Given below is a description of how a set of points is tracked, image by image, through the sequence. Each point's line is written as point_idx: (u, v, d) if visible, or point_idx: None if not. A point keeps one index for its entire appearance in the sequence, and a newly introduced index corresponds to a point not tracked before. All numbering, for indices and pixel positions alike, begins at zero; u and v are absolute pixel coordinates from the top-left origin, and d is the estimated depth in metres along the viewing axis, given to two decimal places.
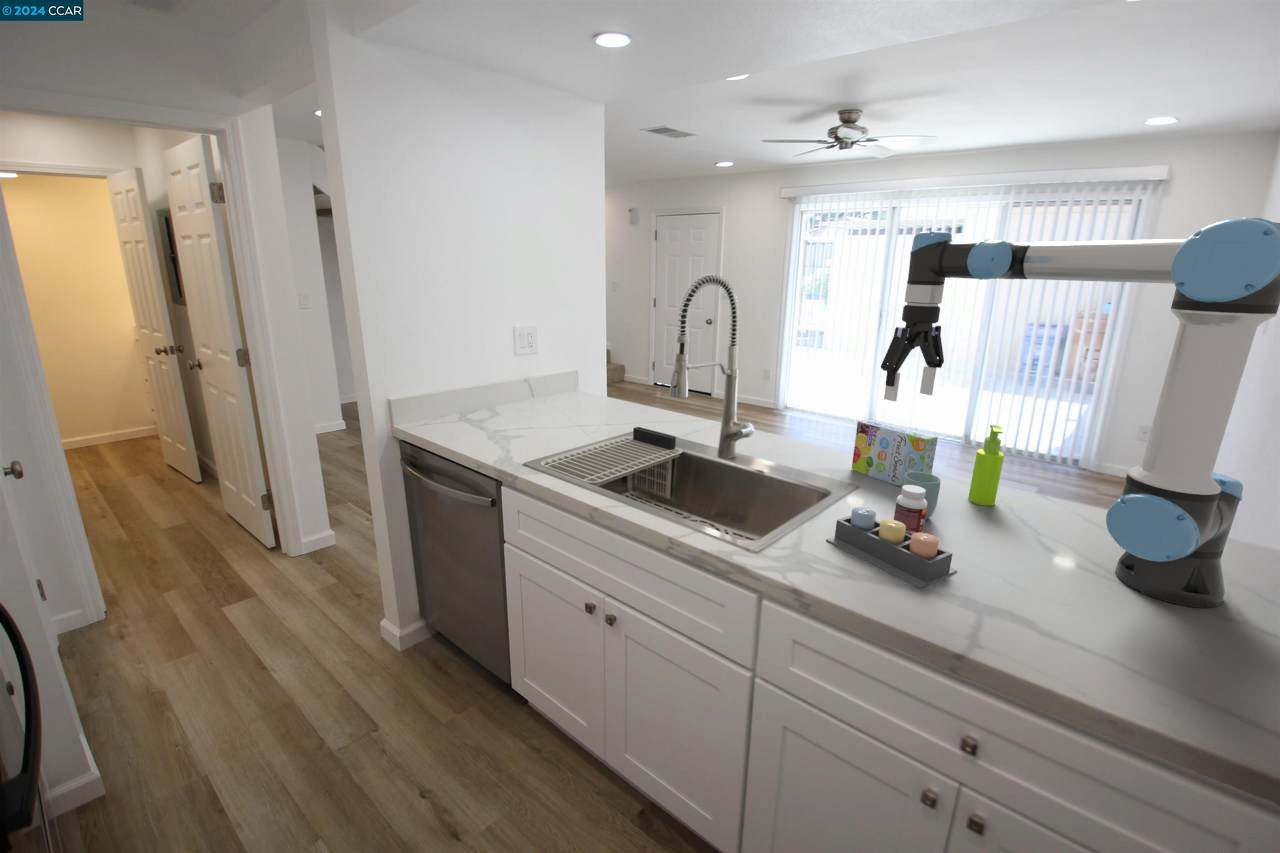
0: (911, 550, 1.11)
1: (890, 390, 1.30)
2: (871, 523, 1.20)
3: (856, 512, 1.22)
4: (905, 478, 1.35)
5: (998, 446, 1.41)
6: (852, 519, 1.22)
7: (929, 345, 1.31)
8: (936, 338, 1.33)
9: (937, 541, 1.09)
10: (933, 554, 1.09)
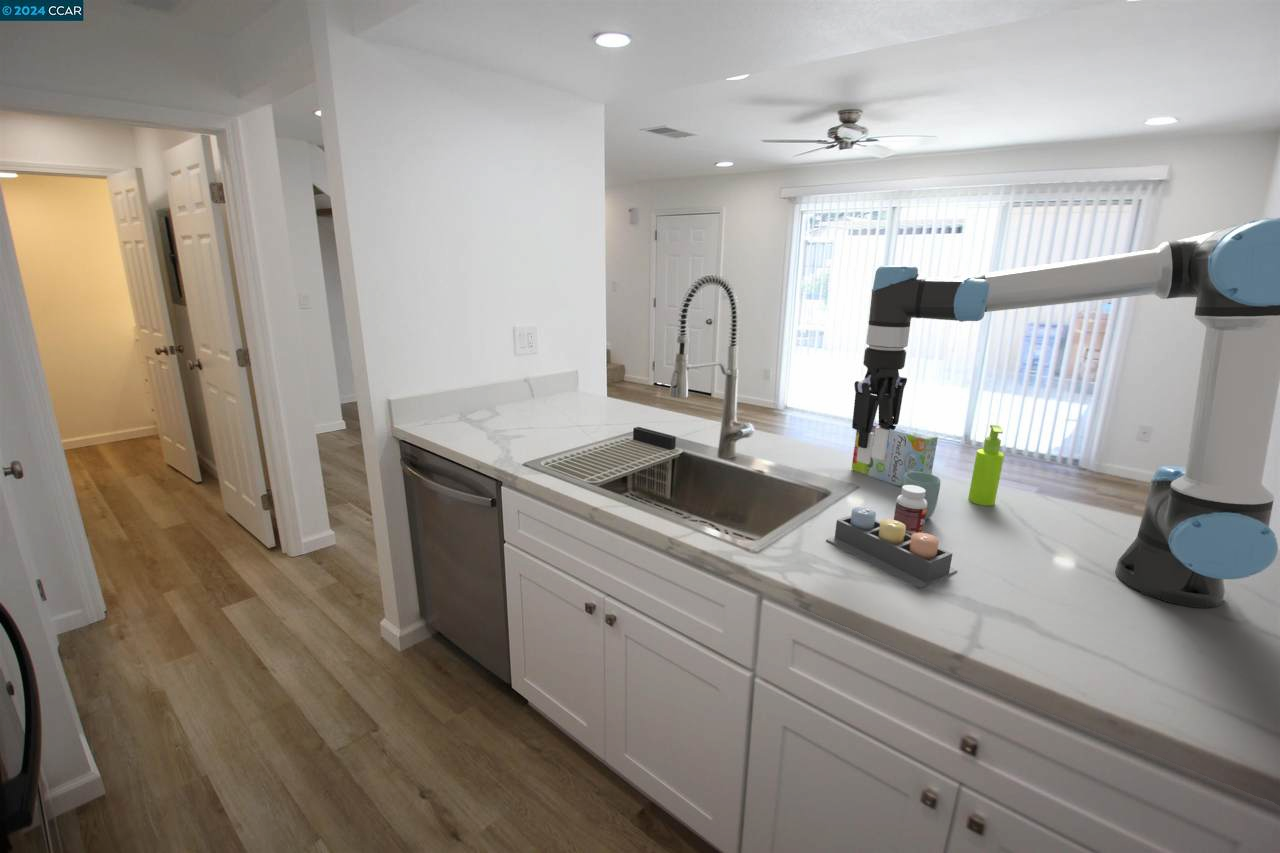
0: (911, 550, 1.11)
1: (863, 452, 1.17)
2: (871, 523, 1.20)
3: (856, 512, 1.22)
4: (905, 478, 1.35)
5: (998, 446, 1.41)
6: (852, 519, 1.22)
7: (890, 395, 1.15)
8: (898, 390, 1.17)
9: (937, 541, 1.09)
10: (933, 554, 1.09)
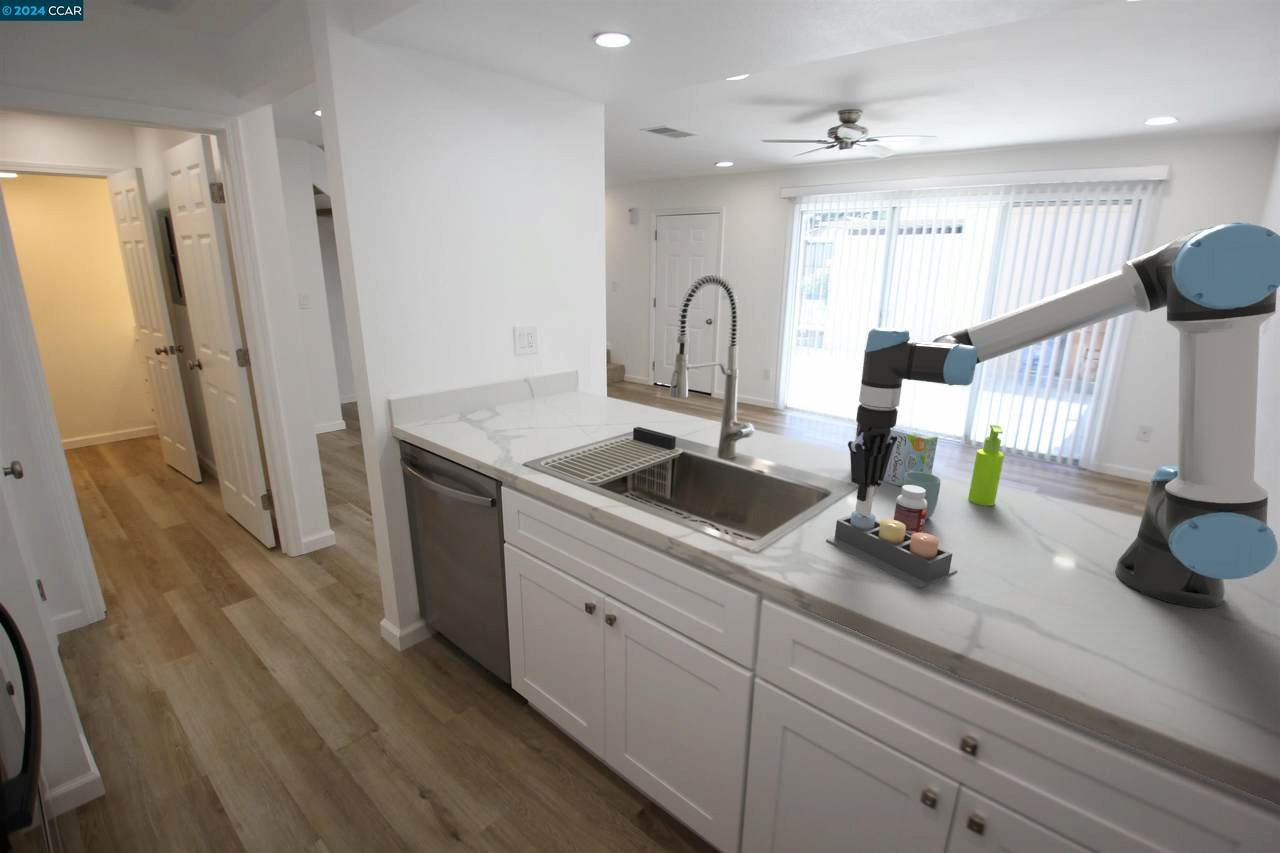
0: (911, 550, 1.11)
1: (861, 504, 1.21)
2: (871, 527, 1.21)
3: (856, 515, 1.22)
4: (905, 478, 1.35)
5: (998, 446, 1.41)
6: (851, 522, 1.23)
7: (880, 452, 1.18)
8: (887, 447, 1.20)
9: (937, 541, 1.09)
10: (933, 554, 1.09)
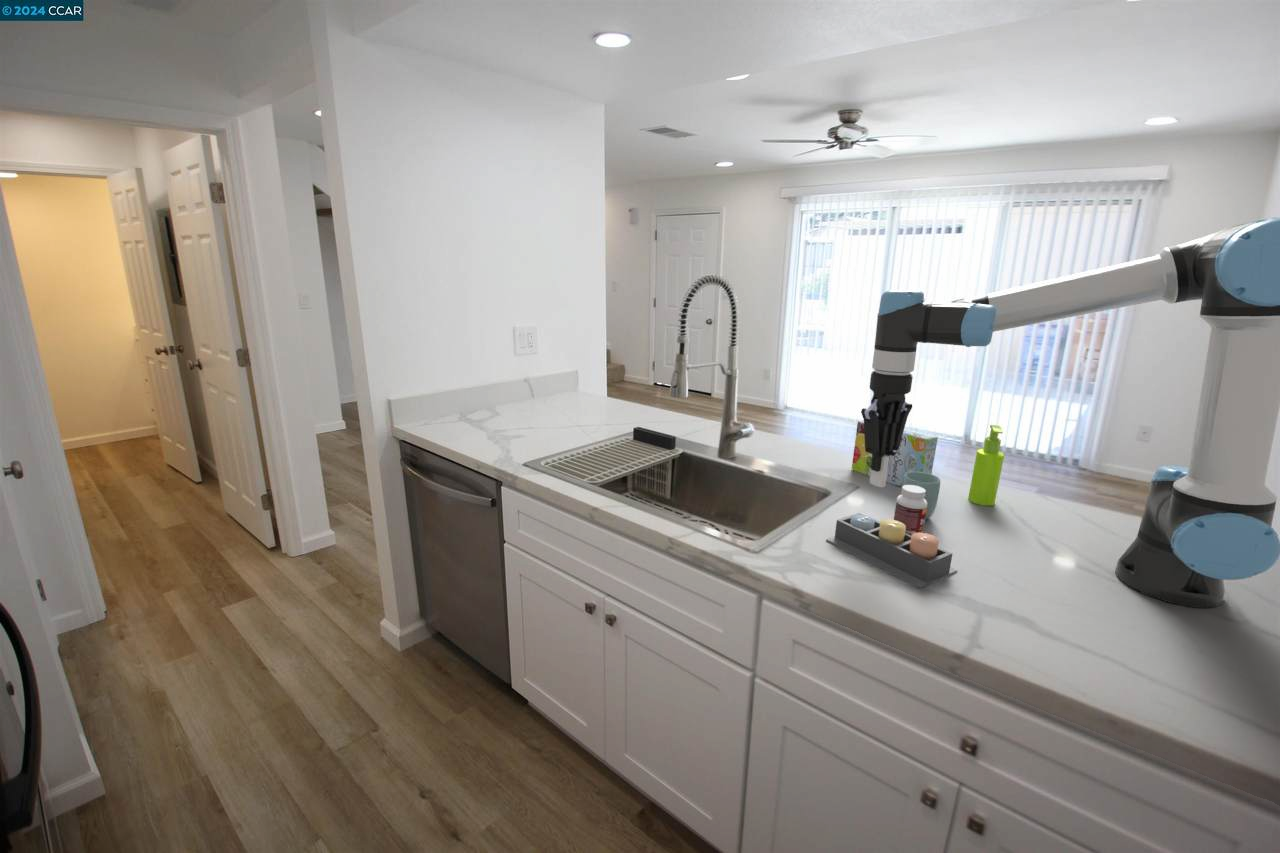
0: (911, 550, 1.11)
1: (876, 475, 1.18)
2: None
3: (855, 520, 1.22)
4: (905, 478, 1.35)
5: (998, 446, 1.41)
6: None
7: (894, 419, 1.14)
8: (902, 415, 1.16)
9: (937, 541, 1.09)
10: (933, 554, 1.09)
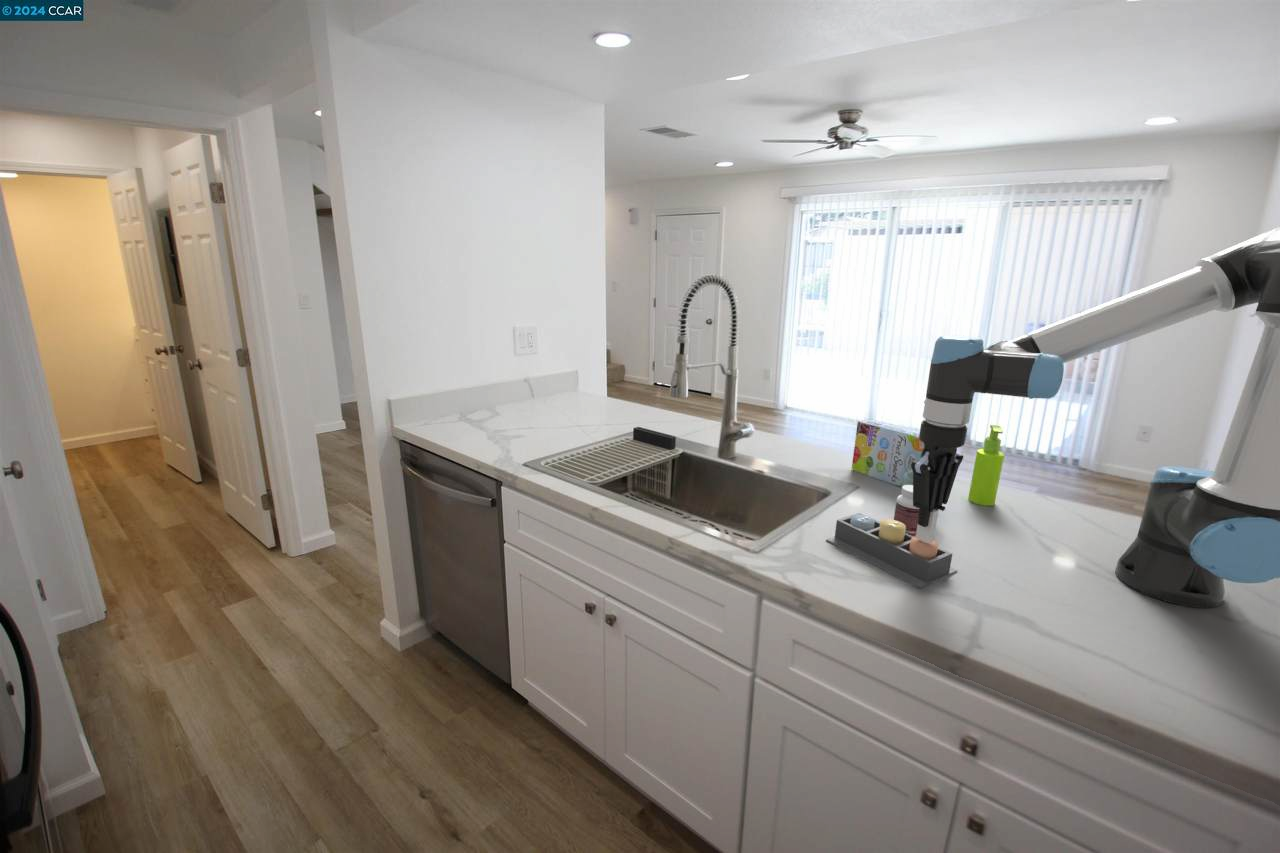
0: None
1: (923, 530, 1.10)
2: None
3: (855, 520, 1.22)
4: (905, 478, 1.35)
5: (998, 446, 1.41)
6: None
7: (945, 473, 1.06)
8: (953, 467, 1.08)
9: (936, 545, 1.10)
10: None
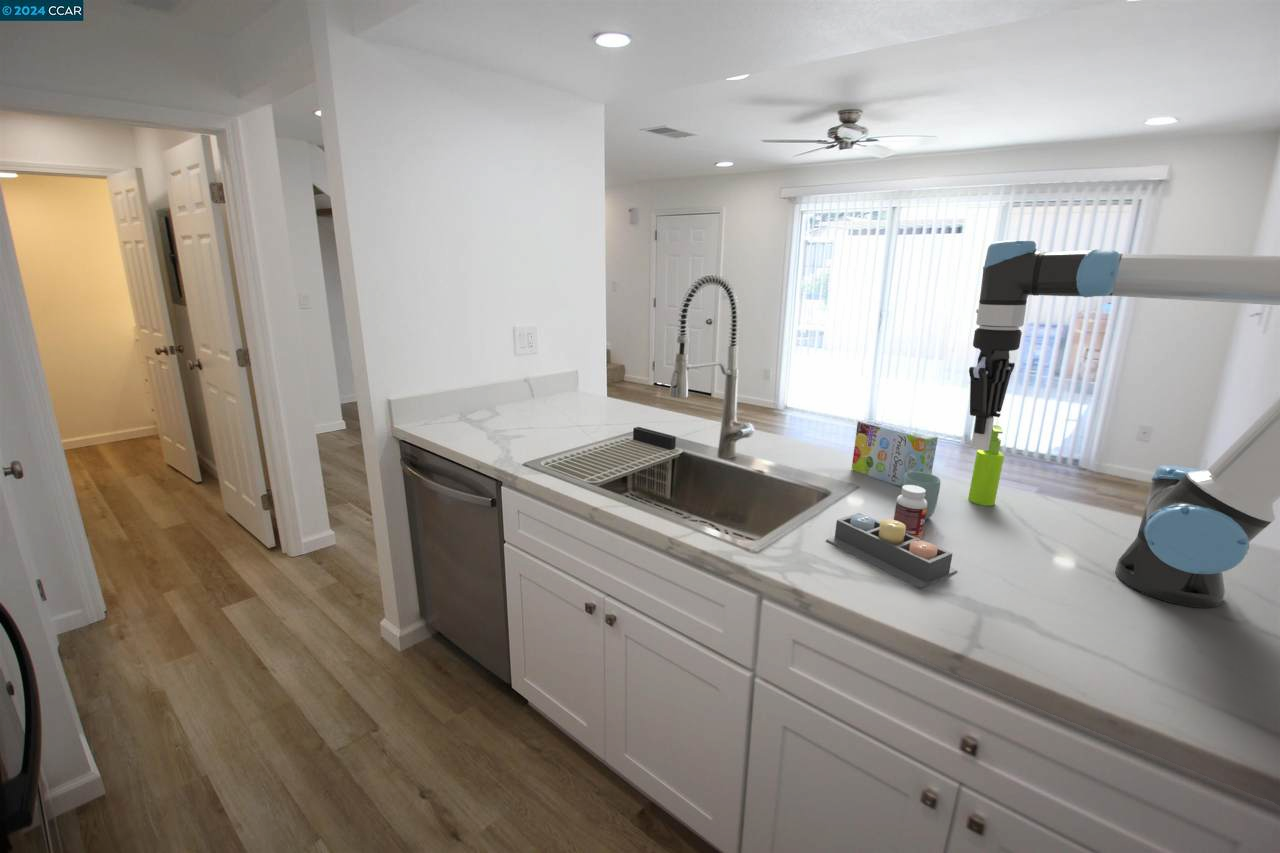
0: None
1: (979, 438, 1.12)
2: None
3: (855, 520, 1.22)
4: (905, 478, 1.35)
5: (998, 446, 1.41)
6: None
7: (1000, 378, 1.09)
8: (1005, 375, 1.11)
9: (936, 549, 1.10)
10: None
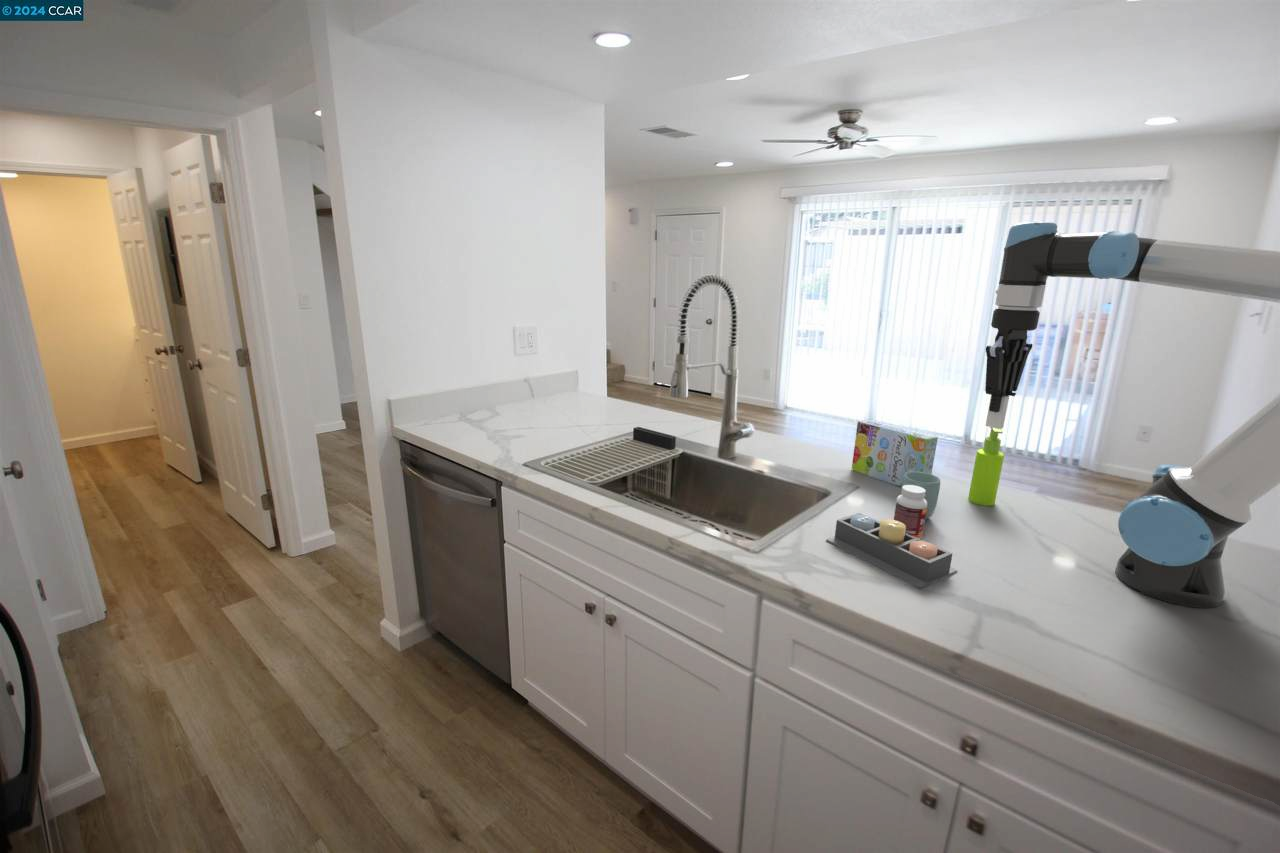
0: None
1: (994, 416, 1.15)
2: None
3: (855, 520, 1.22)
4: (905, 478, 1.35)
5: (998, 446, 1.41)
6: None
7: (1017, 358, 1.12)
8: (1022, 355, 1.14)
9: (936, 549, 1.10)
10: None
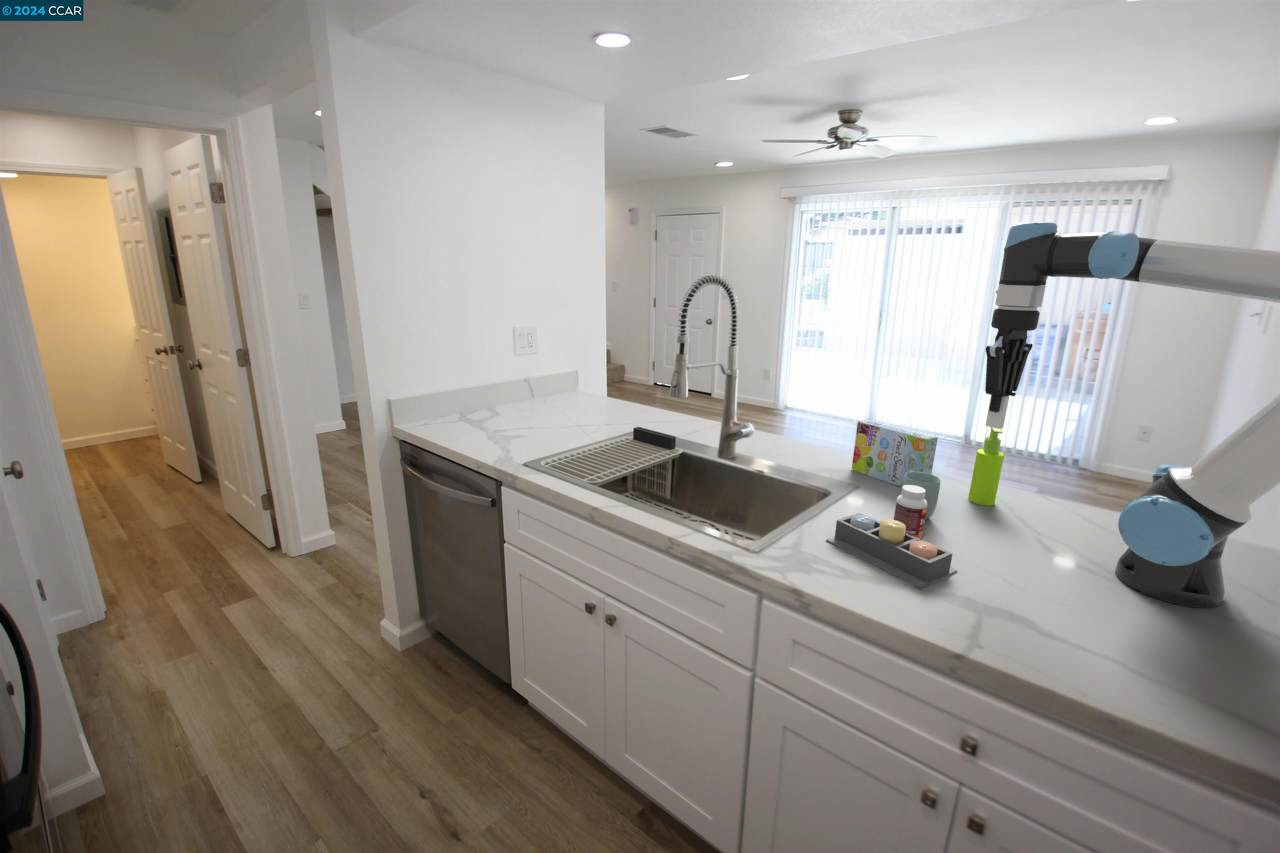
0: None
1: (994, 416, 1.15)
2: None
3: (855, 520, 1.22)
4: (905, 478, 1.35)
5: (998, 446, 1.41)
6: None
7: (1017, 358, 1.12)
8: (1022, 355, 1.14)
9: (936, 549, 1.10)
10: None
